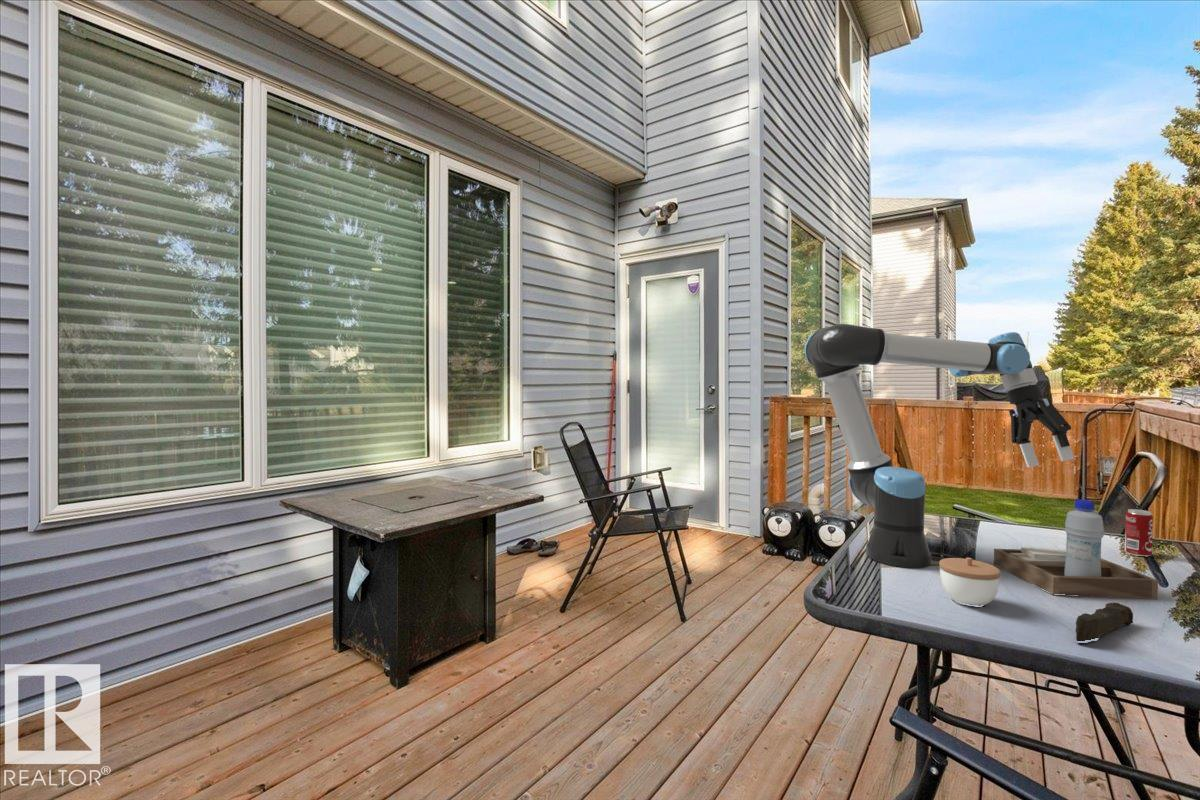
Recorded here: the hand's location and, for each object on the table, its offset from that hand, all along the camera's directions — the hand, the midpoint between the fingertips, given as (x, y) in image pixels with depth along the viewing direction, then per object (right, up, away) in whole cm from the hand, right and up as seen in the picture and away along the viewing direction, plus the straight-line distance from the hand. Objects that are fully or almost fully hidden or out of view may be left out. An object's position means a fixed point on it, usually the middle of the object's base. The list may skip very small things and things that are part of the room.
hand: (1049, 463), depth 143 cm
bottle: (-9, -26, -20) cm, 34 cm away
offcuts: (-8, -24, -11) cm, 28 cm away
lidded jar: (-41, -26, -28) cm, 57 cm away
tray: (-9, -26, -16) cm, 31 cm away
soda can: (+26, -25, +3) cm, 36 cm away
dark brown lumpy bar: (-26, -27, -43) cm, 57 cm away
